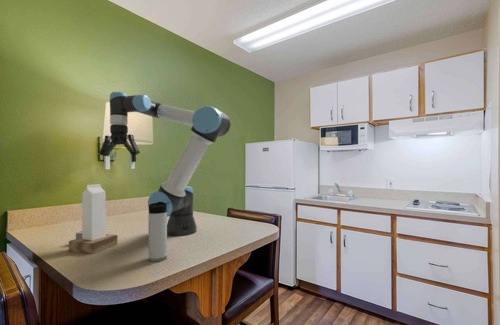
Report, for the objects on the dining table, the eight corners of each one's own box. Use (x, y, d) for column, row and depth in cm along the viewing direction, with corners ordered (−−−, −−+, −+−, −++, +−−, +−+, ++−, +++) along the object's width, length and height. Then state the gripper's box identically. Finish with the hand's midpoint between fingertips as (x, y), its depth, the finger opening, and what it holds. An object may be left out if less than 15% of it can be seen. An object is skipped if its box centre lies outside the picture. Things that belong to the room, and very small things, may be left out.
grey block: (94, 241, 113) (94, 230, 113) (87, 244, 108) (87, 233, 108) (83, 241, 113) (83, 230, 113) (75, 244, 108) (75, 233, 108)
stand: (117, 244, 108) (117, 235, 108) (93, 253, 96) (93, 243, 96) (94, 242, 111) (94, 233, 111) (68, 251, 99) (68, 241, 99)
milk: (82, 239, 102) (81, 184, 102) (96, 235, 108) (95, 183, 108) (92, 240, 100) (91, 185, 100) (106, 236, 105) (105, 183, 106)
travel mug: (169, 254, 95) (169, 201, 95) (164, 261, 88) (163, 204, 88) (152, 255, 94) (152, 201, 95) (145, 262, 88) (145, 204, 88)
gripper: (147, 125, 123) (147, 168, 123) (102, 127, 128) (102, 169, 127) (137, 122, 116) (138, 168, 115) (90, 125, 120) (90, 169, 120)
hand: (119, 169), depth 121 cm, fingers open, 13 cm apart
